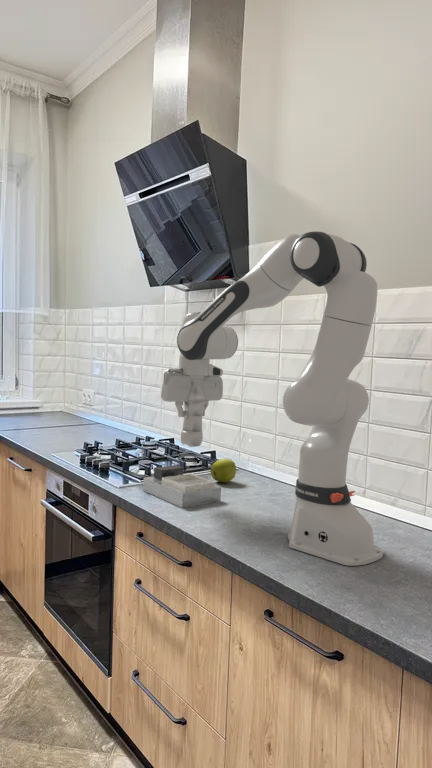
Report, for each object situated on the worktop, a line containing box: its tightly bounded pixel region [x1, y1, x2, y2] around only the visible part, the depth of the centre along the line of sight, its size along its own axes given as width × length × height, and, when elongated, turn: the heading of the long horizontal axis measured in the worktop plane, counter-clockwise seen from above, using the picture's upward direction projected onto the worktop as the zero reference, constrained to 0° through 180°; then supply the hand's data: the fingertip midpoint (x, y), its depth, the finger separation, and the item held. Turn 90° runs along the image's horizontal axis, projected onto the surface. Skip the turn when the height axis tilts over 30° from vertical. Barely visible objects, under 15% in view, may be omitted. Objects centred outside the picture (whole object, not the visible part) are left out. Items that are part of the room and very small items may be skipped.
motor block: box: [142, 464, 222, 509], centre depth 160 cm, size 23×14×7 cm, turn 40°
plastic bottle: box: [180, 381, 206, 448], centre depth 155 cm, size 6×7×20 cm
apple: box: [209, 458, 238, 484], centre depth 178 cm, size 8×9×8 cm
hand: (191, 416), depth 155 cm, fingers closed on plastic bottle, 6 cm apart
